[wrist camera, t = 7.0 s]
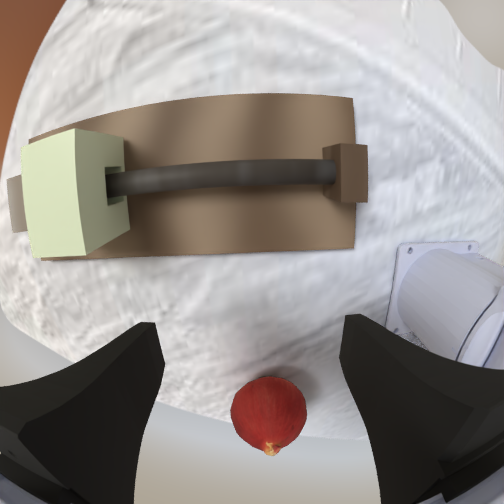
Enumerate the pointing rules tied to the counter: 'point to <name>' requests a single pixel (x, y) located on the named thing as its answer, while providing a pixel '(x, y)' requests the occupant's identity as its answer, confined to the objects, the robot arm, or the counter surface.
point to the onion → (269, 413)
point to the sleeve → (72, 193)
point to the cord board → (229, 175)
